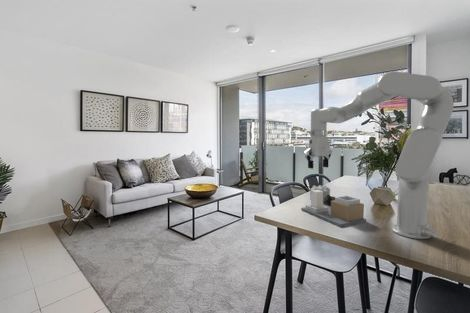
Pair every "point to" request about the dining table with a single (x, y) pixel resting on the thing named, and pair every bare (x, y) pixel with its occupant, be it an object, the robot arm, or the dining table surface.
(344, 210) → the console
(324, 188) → the lumpy-topped squat cylinder
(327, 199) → the chocolate cake
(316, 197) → the plug
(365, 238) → the dining table surface
